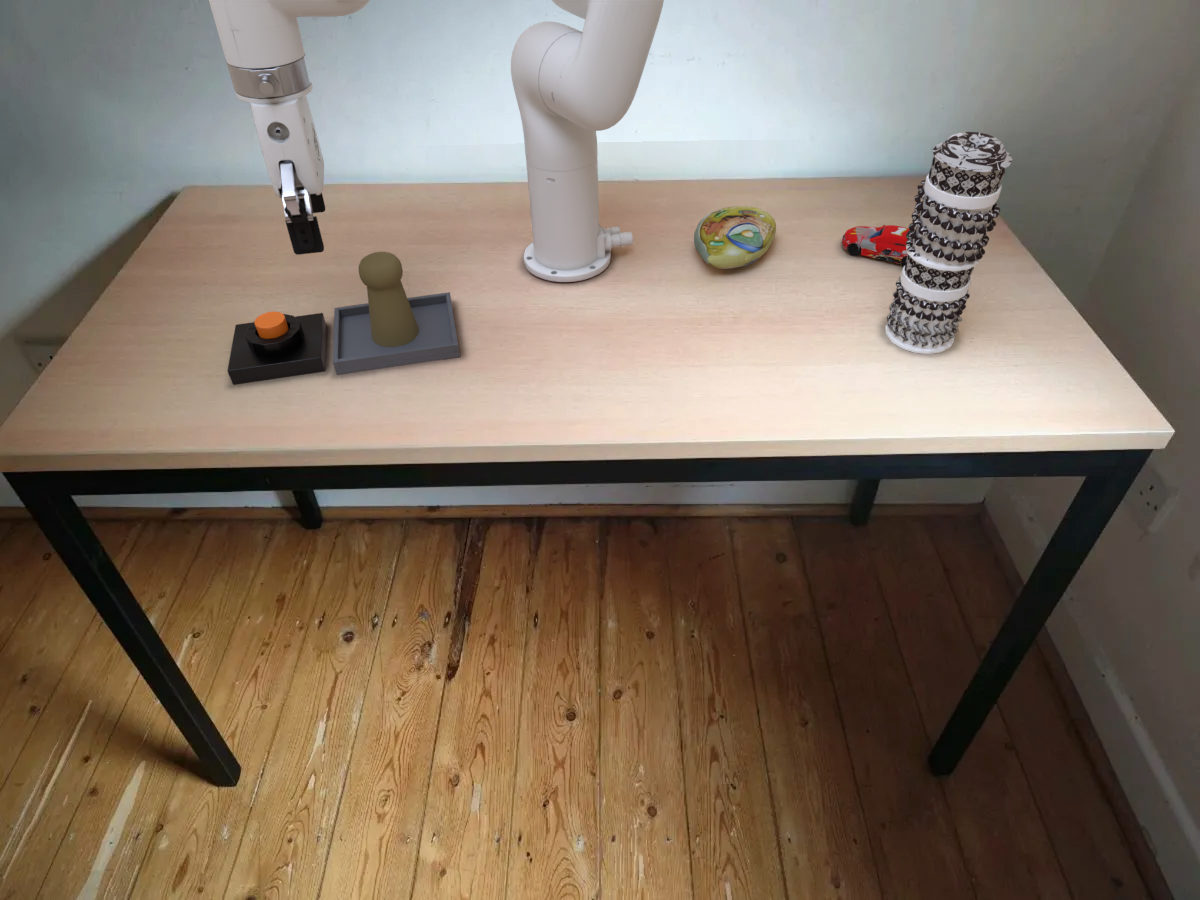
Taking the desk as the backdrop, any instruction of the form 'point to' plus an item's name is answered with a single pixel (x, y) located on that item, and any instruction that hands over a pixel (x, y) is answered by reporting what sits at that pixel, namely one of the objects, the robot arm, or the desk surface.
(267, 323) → the button
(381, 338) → the olive rounded lobed piece
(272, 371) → the control block
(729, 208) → the cell model
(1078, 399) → the desk surface
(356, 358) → the tray
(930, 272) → the black white cylinder
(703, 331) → the desk surface
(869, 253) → the race car
